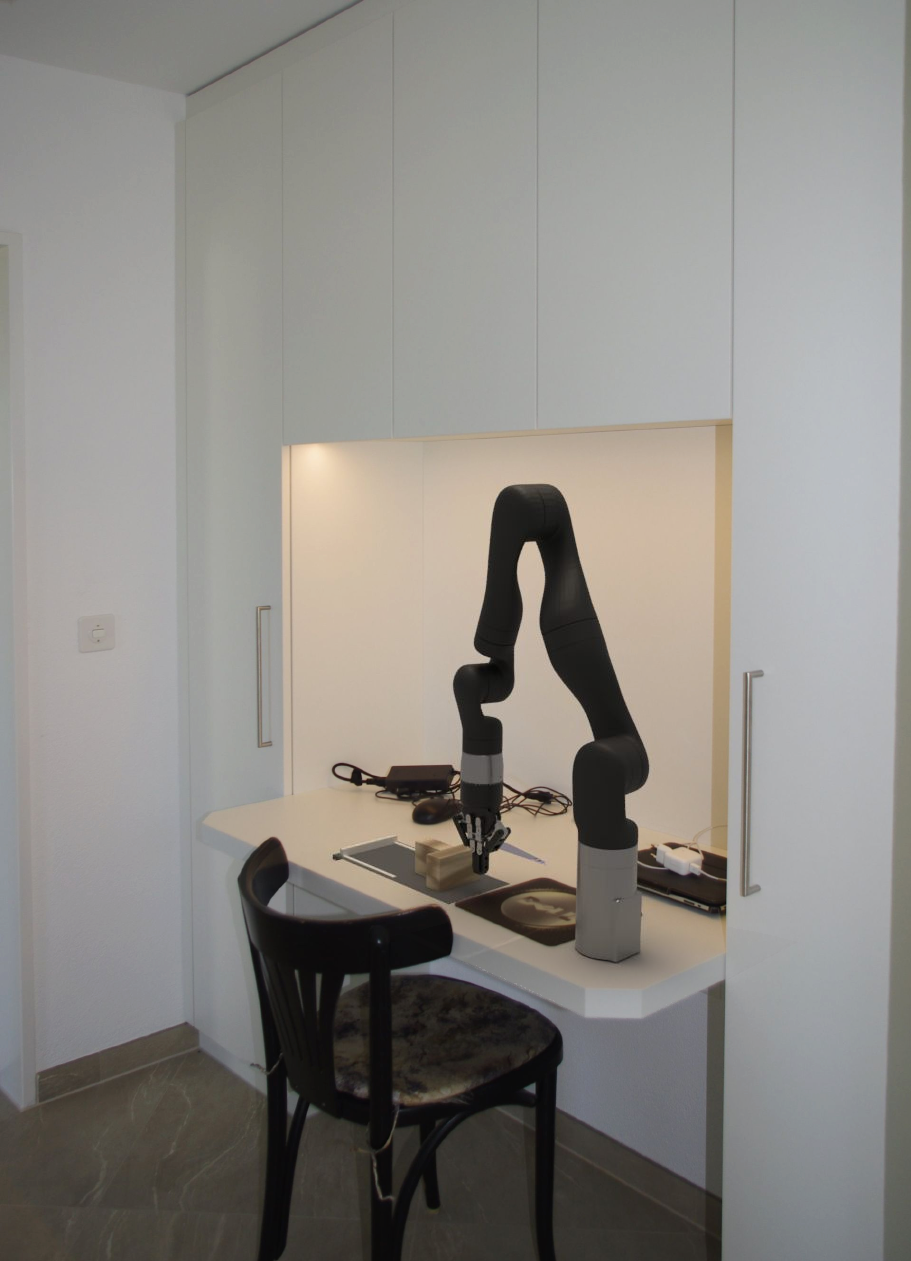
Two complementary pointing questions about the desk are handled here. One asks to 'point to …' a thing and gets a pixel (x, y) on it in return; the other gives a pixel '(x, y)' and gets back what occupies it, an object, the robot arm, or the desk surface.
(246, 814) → the desk surface
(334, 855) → the desk mat
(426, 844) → the T block
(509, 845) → the lavender triangular plate
